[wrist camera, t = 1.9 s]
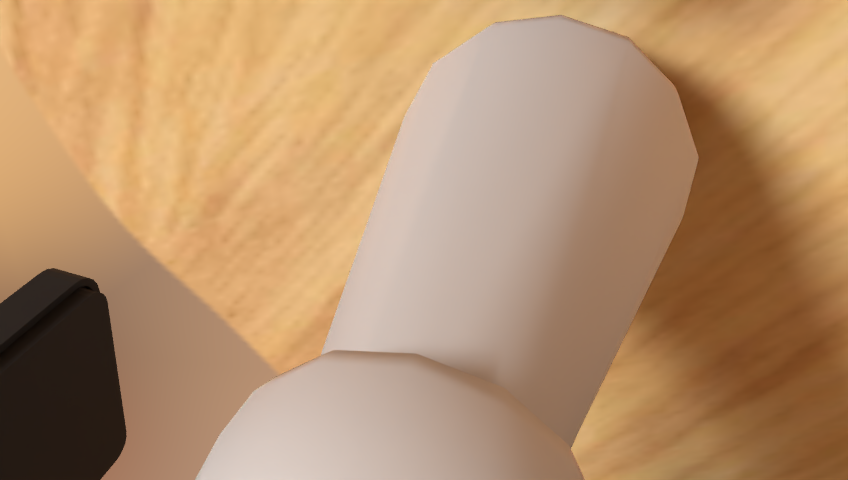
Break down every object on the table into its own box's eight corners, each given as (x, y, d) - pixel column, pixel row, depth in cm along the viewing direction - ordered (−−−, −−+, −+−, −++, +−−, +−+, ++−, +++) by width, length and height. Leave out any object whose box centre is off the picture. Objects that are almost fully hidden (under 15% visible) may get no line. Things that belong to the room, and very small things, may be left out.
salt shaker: (747, 41, 15) (849, 674, 5) (633, 261, 19) (550, 919, 8) (471, -52, 16) (38, 335, 6) (409, 177, 19) (66, 690, 9)
